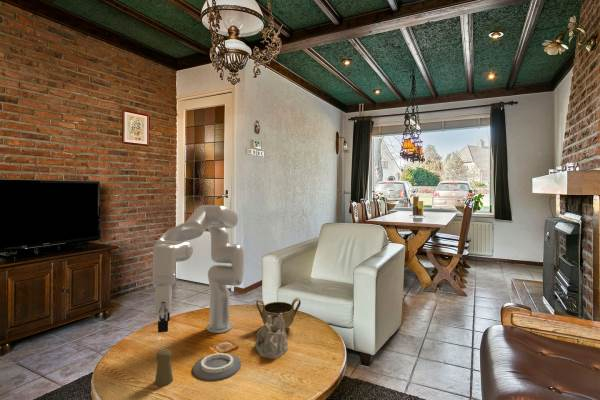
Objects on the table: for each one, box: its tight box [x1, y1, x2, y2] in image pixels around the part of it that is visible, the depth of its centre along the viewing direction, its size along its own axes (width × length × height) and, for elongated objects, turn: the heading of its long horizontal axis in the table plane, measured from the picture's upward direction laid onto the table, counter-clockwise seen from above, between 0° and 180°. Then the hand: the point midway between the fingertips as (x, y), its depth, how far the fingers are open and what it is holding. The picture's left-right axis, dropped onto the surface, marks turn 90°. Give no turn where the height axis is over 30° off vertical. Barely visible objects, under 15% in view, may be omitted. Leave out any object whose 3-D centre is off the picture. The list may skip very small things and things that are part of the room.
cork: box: [154, 348, 174, 387], centre depth 118 cm, size 6×6×11 cm
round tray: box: [192, 352, 242, 381], centre depth 128 cm, size 18×18×2 cm
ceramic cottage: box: [254, 313, 289, 360], centre depth 143 cm, size 16×16×15 cm
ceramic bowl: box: [255, 297, 302, 330], centre depth 165 cm, size 22×17×15 cm
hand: (164, 326), depth 118 cm, fingers open, 9 cm apart
